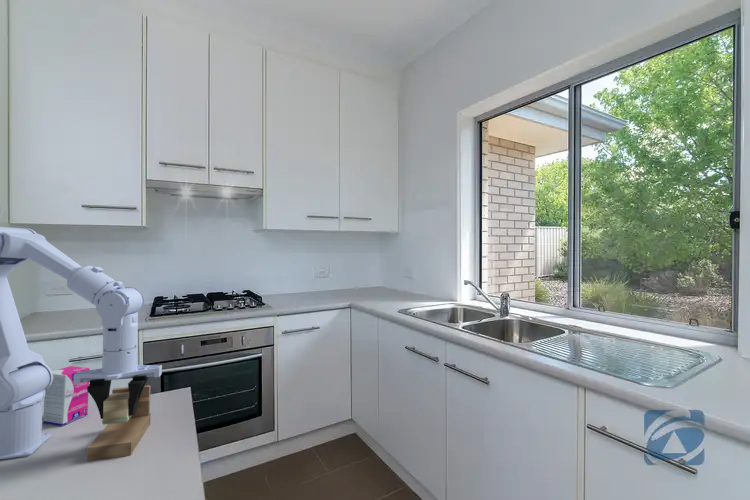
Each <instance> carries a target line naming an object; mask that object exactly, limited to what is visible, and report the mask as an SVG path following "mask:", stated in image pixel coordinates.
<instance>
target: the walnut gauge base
mask: <svg viewBox="0 0 750 500" xmlns="http://www.w3.org/2000/svg"><path fill="white" fill-rule="evenodd" d="M151 387H152V386H151V385H149V384H147V385H146V384H145V386H144V388H143V390H142V393H141V395H140V398H139V401H138V405H137V410H136V412H135V414H134V415H132V416H131V417H130V419H129V420H128V421H127V422H122V423H114V424H106V426H105V427H103V429H102V430H101V432H100V433H99V434H98V435H97V436H96V437H95V439H94V440H93V441H92V442H91V443H90V445H89V446H88V447H87V448H86V449H87V452H86V455H87V457H86V461H87V462H94V461H99V460H107V459H113V458H119V457H120V458H121V457H127V456H132V454H133V452H134V451H135V449H136V448H137V446H138V445H139V443H140V441H142V440H141V439H142V438H143V436H144V435H145V434H146V431H147V430H148V428H149V427H150V425H151V415H152V413H151ZM125 392H129V388H128V386H126V387H117V388H116V387H115V388H113V389H112V392H111V394H115V393H125Z"/></svg>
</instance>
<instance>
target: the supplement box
mask: <svg viewBox="0 0 750 500" xmlns="http://www.w3.org/2000/svg"><path fill="white" fill-rule="evenodd" d="M87 370H91V368H89V367H83V366H76V365H75V366H74V365H70V366H66V367H63V368H58V369H57V370H52V373H53V382H52V384H51V385H50V387H49V388H48V389H46V390H45V396H44V398H43V399H44V403H43V416H42V424H45V425H50V426H51V425H52V426H57V427H64V426H66V425H68V424H70V423H72V422H75V421H77V420H79V419H82V418H84V417H86V415H87V416H88V409H89V392H88V391H87V387H88V386H89V384H90V382H83V383H81V384H74V374H76V373H77V372H79V371H87Z"/></svg>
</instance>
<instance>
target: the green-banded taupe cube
mask: <svg viewBox="0 0 750 500" xmlns="http://www.w3.org/2000/svg"><path fill="white" fill-rule="evenodd" d="M129 404H130V396H129V392H125V393H115V394H112V393H111V394H109V397H108V398H107V399H106V400H105V401H104V402H103V419H101V421H102V422H101V423H102V425H103V426H104V425H108V424H114V423H122V422H127V421H128V420H129V419H130V417H131V416H129Z"/></svg>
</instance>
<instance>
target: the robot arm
mask: <svg viewBox="0 0 750 500" xmlns="http://www.w3.org/2000/svg"><path fill="white" fill-rule="evenodd" d="M28 260H31V261H32V262H34V263H36V264H38V265H40V266H42V267H44V268H45V269H46V270H49V271H50V272H52V273H55V274H56V275H57V276H59V277H61V278H63V279H66V285H67V289H69V290H70V291H72V292H73V293H75V294H76V295H78V296H80V297H81V298H82V299H84V300H86V301H88V302H89V303H90V304H93V305H94V306H95V309H96V313H97V314H98V315H99V317H100V318H101V326H103V327H102V328H103V329H102V356H101V357H102V360H101V362H102V365H101V368H94V369H90V370H87V371H79V372H77V373H76V374H74V384H81V383H83V382H89V386H88V387H87V391H88V395H90V396H91V398H92V399H93V401H94V403H95V405H96V407H97V409H98V412H99V417H100V419H101V420H103V402H104V401H105V400H106V399H107V398H108V397H109V396H110V395H111V394H110V393H111V392H110V391H111V385H112V381H115V380H117V381H118V380H127V379H131V380H130V381H129V382H128V383H127V387H128V388H129V396H130V404H129V416H132V415H134V414H135V412H136V410H137V405H138V401H139V398H140V395H141V393H142V390H143V388H144V386H146V384H147V382H148V381H149V378H151V377H153V378H160V377H161V375H162V374H163V372H162V371H163V365H162V364H158V365H154V364H153V365H150V364H148V365H147V364H138V330H139V311H141V310H142V309H143V307H144V304H145V296H144V295H143V293H142V292H141V291H140V290H139V289H138V287H135V286H124V283H123V282H122V281H120V280H115V279H114V278H112V277H111V276H110V275H107V274H106V273H104V271H105V270H104V269H103V268H102V267H100V266H93V265H84V266H81V265H80V264H79V263H77V262H76V261H74V260H73V259H72V258H71V257H69V256H68V255H66V254H65V253H64V252H62V251H61V250H59V249H58V248H57V247H56V246H54V245H53V244H51V243H50V242H49V241H47V238H46V237H45V235H42V234H40V233H38V232H37V231H35V230H33V229H32V228H29V227H28V228H27V227H10V226H9V227H7V226H0V460H4V459H5V460H6V459H12V458H20V457H28V456H31V455H32V454H33V453H34V452H35V451H36V450H38V448H39V447H41V445H43V444H44V443H45V442H47V440H49V439H50V438H51V437H52V435H53V434H52V432H51V433H50V432H49V433H43V429H42V428H43V404H44V403H43V399H44V397H45V390H46V389H48V388H49V387H50V385H51V384H52V382H53V373H52V371H53V370H52V368H51V367H49V366H48V365H47V364H46V362H45V361H44V357H43V355H41V354H39V353H37V352H35V351H33V350H30V349H29V345H28V342H27V341H28V340H27V337H26V335H25V332H24V328H23V325H22V322H21V319H20V316H19V312H18V309H17V306H16V302H15V300H14V296H13V293H12V289H11V285H10V282H9V280H8V276H9V274H11V272H12V271H13V270H14V269H16V268H17V267H18V266H20V265H22V264H23V263H24V262H26V261H28ZM14 369H15V370H14Z"/></svg>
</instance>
